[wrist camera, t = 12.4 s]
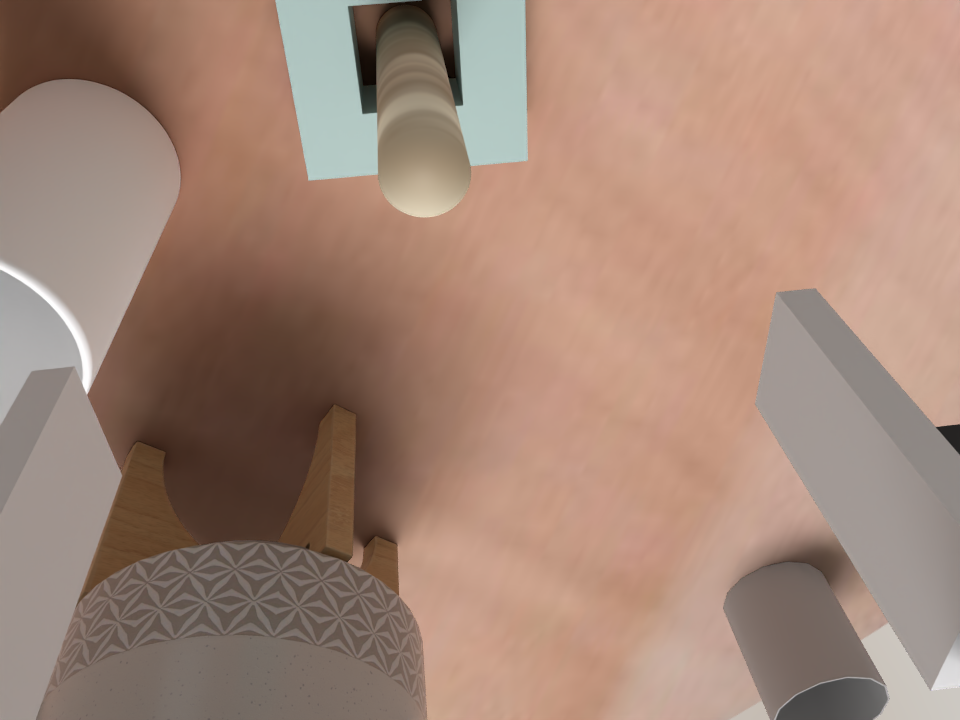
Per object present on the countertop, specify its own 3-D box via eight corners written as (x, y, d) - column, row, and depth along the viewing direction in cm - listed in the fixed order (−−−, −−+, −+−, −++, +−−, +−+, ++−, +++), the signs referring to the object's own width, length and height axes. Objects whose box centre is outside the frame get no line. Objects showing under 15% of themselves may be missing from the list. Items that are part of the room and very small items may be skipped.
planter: (323, 624, 61) (299, 1064, 40) (72, 540, 53) (-120, 1032, 32) (469, 466, 53) (532, 911, 32) (200, 340, 46) (54, 820, 25)
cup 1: (20, 45, 36) (-178, 196, 23) (204, 129, 39) (121, 305, 26) (-19, 199, 39) (-208, 403, 27) (151, 265, 43) (55, 477, 30)
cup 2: (809, 624, 68) (868, 738, 60) (715, 632, 67) (761, 748, 59) (836, 557, 63) (904, 671, 55) (735, 565, 63) (789, 682, 54)
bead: (273, -82, 34) (262, -67, 31) (509, -99, 34) (523, -86, 31) (313, 148, 40) (308, 180, 37) (515, 130, 40) (527, 160, 37)
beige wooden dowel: (372, 7, 36) (372, 133, 23) (434, 2, 36) (468, 125, 24) (379, 70, 38) (383, 221, 25) (439, 65, 38) (473, 212, 25)
